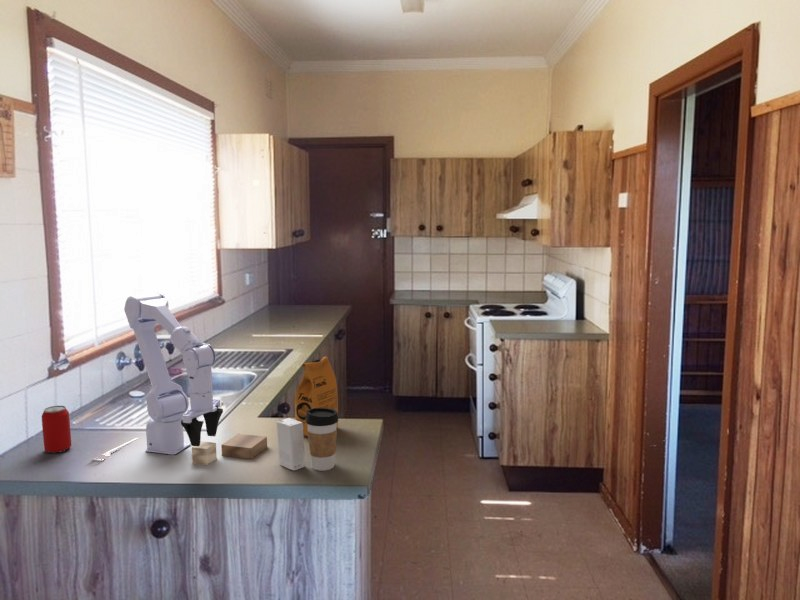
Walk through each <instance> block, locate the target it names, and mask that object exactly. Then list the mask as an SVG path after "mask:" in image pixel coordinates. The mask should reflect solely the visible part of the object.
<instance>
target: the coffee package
mask: <svg viewBox="0 0 800 600" xmlns="http://www.w3.org/2000/svg"><path fill="white" fill-rule="evenodd" d="M301 368H303V369H304V370H305V372H304V373H303V376H302V378H301V381H300V383H299V384H298V387H297V389H296V391H295V397H294V408H295V409H294V411H295V415H294V416H295V417H294V418H295V419H294V420H296V421H299V422H302V423H303V435H304V437H307V438H308V431H307V429H308V424H307V423H306V413H307V412H306V411H307V410H309V409H311V408H329V409H334V410H336V411H337V415H338V412H339V411H338V410H339V407H338V406H339V405H338V403H339V399H338V398H339V397H338V385H337V379H336V374H335V371H334V370H333V368H332V365H331V362H330V360H329V357H328V356H323V357H322V359H321V360H319V361H316V362H314V361H313V362H303V364H302V365H301ZM338 416H339V415H338ZM338 424H339V421H338V422H337V429H338V427H339V425H338Z"/></svg>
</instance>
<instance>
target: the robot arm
mask: <svg viewBox="0 0 800 600" xmlns="http://www.w3.org/2000/svg"><path fill="white" fill-rule="evenodd" d="M123 310H124V314H125V315H126V316H125V317H126V319H127V322H128V324H129V327H130V329H132V330H133V333H134V336H135V339H136V343H137V346H138V348H139V351H140V355H141V358H142V361H143V363H144V364H143V365H144V366H145V369H146V371H147V374H148V378H149V382H150V384H151V389H150V390H149V391H148V393H147V394H146V395H145V399H146V405H147V406H146V408H147V409H146V410H147V414H148V416H149V417H150V418H149V419H148V420H147V423H146V428H145V434H146V449H145V452H149V453H156V454H157V453H158V454H166V455H172V456H174V455H176V454H178V453H179V452H182V451H183V450H184V449H186V448H187V447H190V446H191V447H193V446H200V442H201V436H202V435H201V433H202V429H203V426H204V424H205V427H206V429H205V430H206V435H207V436H208V437H216V436H217V431H218V426H219V422H220V420H221V417H222V415H223V412H224V409H223V408H221V399H217V398H216V399H214V397H213V395H214V394H213V377H212V376H213V375H212V366H213V365H214V364H215V362H216V360H217V359H216V351H215V349H214V348H213V346H212V345H211V344H210V343H205V342H201V341H200V339H199V338H198V337H197V336H196V335H195V333H193V332H192V331H191V329H190V327H187V326H182V325H181V324H180V322H179V321H178V320H177V319H176V317H175V315H174V314H173V313H172V311H171V310H170V309H169V300H168V299H167V298H166V297H165V295H164V294H163V293H161V292H155V293H150V294H143V295H142V294H141V295H130V296H128V297H127V298H126V300H125V304H124V309H123ZM158 324H159V325H160V326H161V327H162V328H163V329H164V330H165V331H166V332H167V333H168V334H169V335H170V338H169V340H170V343H172V345H173V346H174V347H175V349H176V350H177V351H178V352H179V353H180V355H182V362H183V364H184V367H185V369H186V375H187V376H188V383H189V384H188V385H189V397H188V396H187V394H186V393H185V392H184V390H183V388H182V387H183V386H181V385H180V384H178V383H176V382H174V381H172V379H171V376H170V372H169V370H168V367H167V364H166V360H165V358H164V354H163V352H162V348H161V347H160V342H159V340H158V337H157V335H156V331H155V328H156V326H157V325H158ZM189 401H190V403H189ZM189 405H190V407H189ZM219 407H220V408H219ZM201 416H203V418H204V421H203V420H199V419H198V418H199V417H201ZM184 430H185V432H186V434H187V436H188V439H189V442H185V436H184Z"/></svg>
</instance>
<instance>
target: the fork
mask: <svg viewBox="0 0 800 600" xmlns="http://www.w3.org/2000/svg"><path fill="white" fill-rule="evenodd" d="M136 439H137V440H138V439H139V437H136V438H133V439H131V440H130V441H127V442H125V443H123V444H121V445H119V446H117V447H115V448H112V449H110V450H108V451H106V452H104V453H102V455H105V456H110V457H111V455H112V454H113V452H114V453H115V451H116V450H118V449H120V448H121V447H123V446H125V445H126V444H128V443H130V442H131V443H133V442H134V440H135V441H137V440H136ZM132 441H133V442H132ZM131 443H130V444H131ZM128 445H129V444H128ZM126 446H127V445H126ZM126 446H125V447H126ZM123 448H124V447H123ZM121 449H122V448H121ZM121 449H120V450H121ZM118 451H119V450H118ZM116 452H117V451H116ZM111 453H112V454H111ZM87 459H89V461H90V460H91V461H99V462H101V461H102V462H104V461H103V460H104V459H102V460H101V459H96V458H89V457H88V458H87Z"/></svg>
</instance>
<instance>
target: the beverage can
mask: <svg viewBox="0 0 800 600" xmlns="http://www.w3.org/2000/svg"><path fill="white" fill-rule="evenodd" d="M41 425H42V426H41V427H42V437H43V438H42V439H43V447H44V451H46V452H48V453H50V452H59V453H61V452H60V451H63V452H65V451H64V450H66V449H67V450H68V449H70V448H71V446H72V433H71V419H70V412H69V410H68V409H67V407H66V406H65V405H53V406H48V407H45V408H44V409H43V412H42V414H41ZM67 450H66V451H67Z"/></svg>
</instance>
